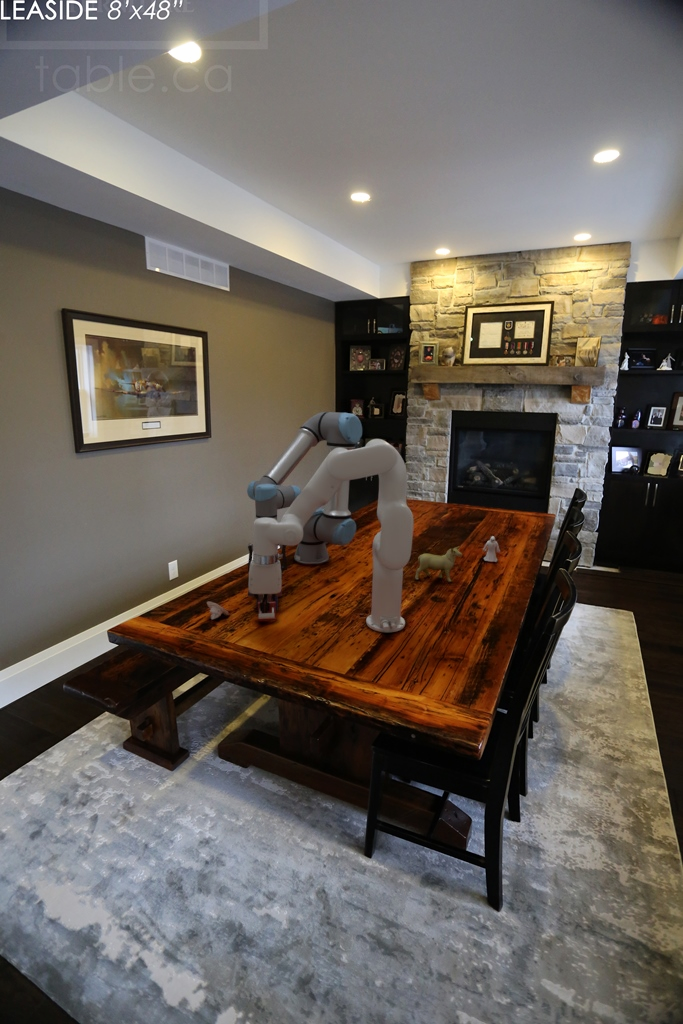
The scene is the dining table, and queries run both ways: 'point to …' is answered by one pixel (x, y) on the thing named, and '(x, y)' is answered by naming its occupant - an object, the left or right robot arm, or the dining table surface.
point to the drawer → (270, 614)
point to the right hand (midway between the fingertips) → (264, 612)
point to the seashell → (216, 610)
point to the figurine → (491, 550)
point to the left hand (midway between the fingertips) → (268, 588)
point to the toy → (438, 563)
